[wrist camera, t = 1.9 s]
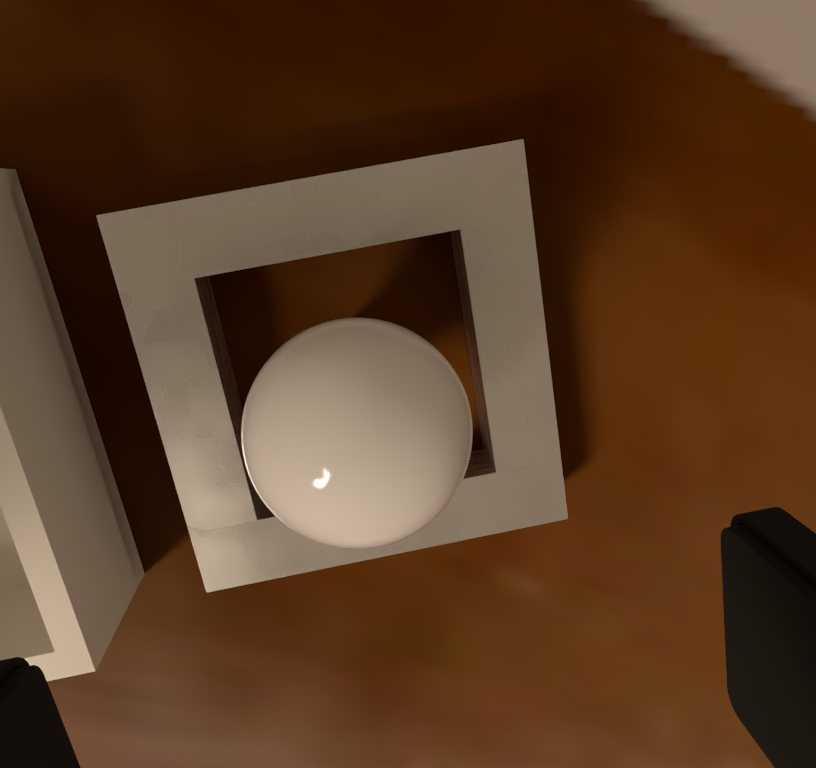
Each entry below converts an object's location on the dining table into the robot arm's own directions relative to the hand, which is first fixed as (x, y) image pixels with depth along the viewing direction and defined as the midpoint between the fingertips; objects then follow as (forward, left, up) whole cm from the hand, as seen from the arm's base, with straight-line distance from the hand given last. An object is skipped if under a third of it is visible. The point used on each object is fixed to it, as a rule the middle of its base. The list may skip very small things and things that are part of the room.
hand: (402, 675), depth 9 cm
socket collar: (0, 0, -18) cm, 18 cm away
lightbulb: (0, 0, -18) cm, 18 cm away
